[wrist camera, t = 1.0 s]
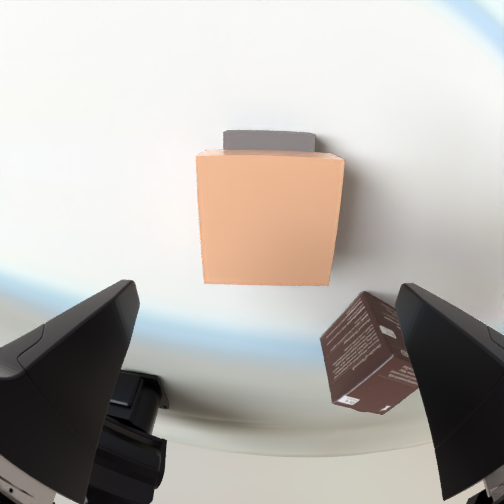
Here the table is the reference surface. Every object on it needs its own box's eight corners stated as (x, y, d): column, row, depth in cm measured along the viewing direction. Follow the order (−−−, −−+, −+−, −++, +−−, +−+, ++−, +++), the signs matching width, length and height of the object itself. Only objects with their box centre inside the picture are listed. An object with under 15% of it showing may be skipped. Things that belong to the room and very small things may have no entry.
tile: (320, 263, 18) (328, 285, 15) (210, 261, 18) (204, 283, 16) (331, 153, 14) (344, 160, 12) (205, 150, 15) (195, 156, 12)
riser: (299, 261, 20) (303, 276, 18) (229, 260, 20) (226, 275, 18) (309, 132, 16) (315, 134, 14) (227, 130, 16) (223, 132, 14)
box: (405, 314, 22) (438, 373, 16) (362, 355, 25) (382, 416, 18) (362, 288, 21) (394, 354, 14) (316, 337, 23) (331, 406, 17)
